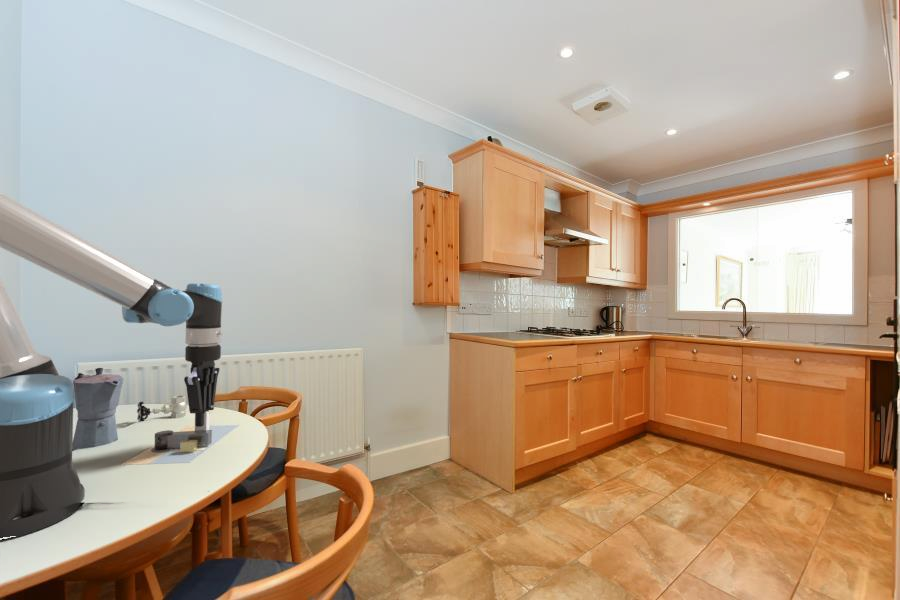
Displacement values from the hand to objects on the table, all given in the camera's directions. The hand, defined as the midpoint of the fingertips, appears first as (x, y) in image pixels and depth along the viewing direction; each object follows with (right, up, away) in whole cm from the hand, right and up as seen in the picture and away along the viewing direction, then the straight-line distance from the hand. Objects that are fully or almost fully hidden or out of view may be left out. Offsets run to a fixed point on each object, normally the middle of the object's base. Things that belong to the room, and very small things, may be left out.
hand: (201, 437), depth 96 cm
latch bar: (-3, -1, -3) cm, 4 cm away
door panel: (-4, -3, +1) cm, 5 cm away
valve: (-27, -3, +22) cm, 35 cm away
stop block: (0, -1, -5) cm, 6 cm away
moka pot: (-27, -3, 0) cm, 27 cm away
